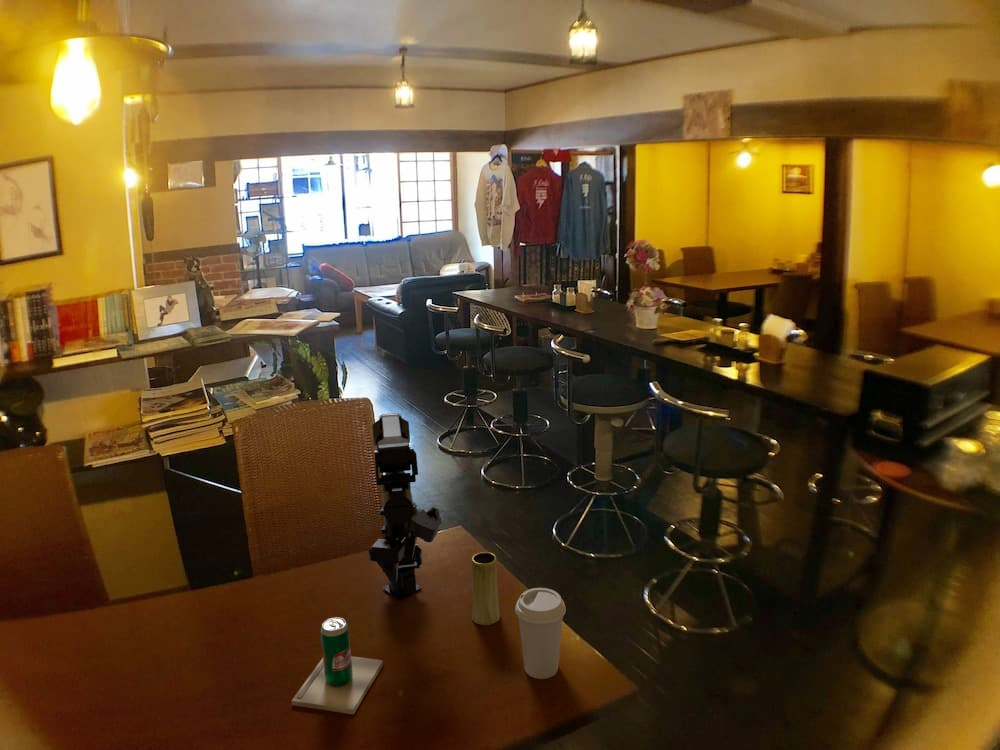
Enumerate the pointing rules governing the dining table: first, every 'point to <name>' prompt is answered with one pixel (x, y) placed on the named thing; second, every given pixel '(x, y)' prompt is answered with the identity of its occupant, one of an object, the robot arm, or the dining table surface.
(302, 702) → the white rectangular tray
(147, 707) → the dining table surface
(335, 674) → the soda can
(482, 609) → the vase
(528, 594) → the coffee cup
